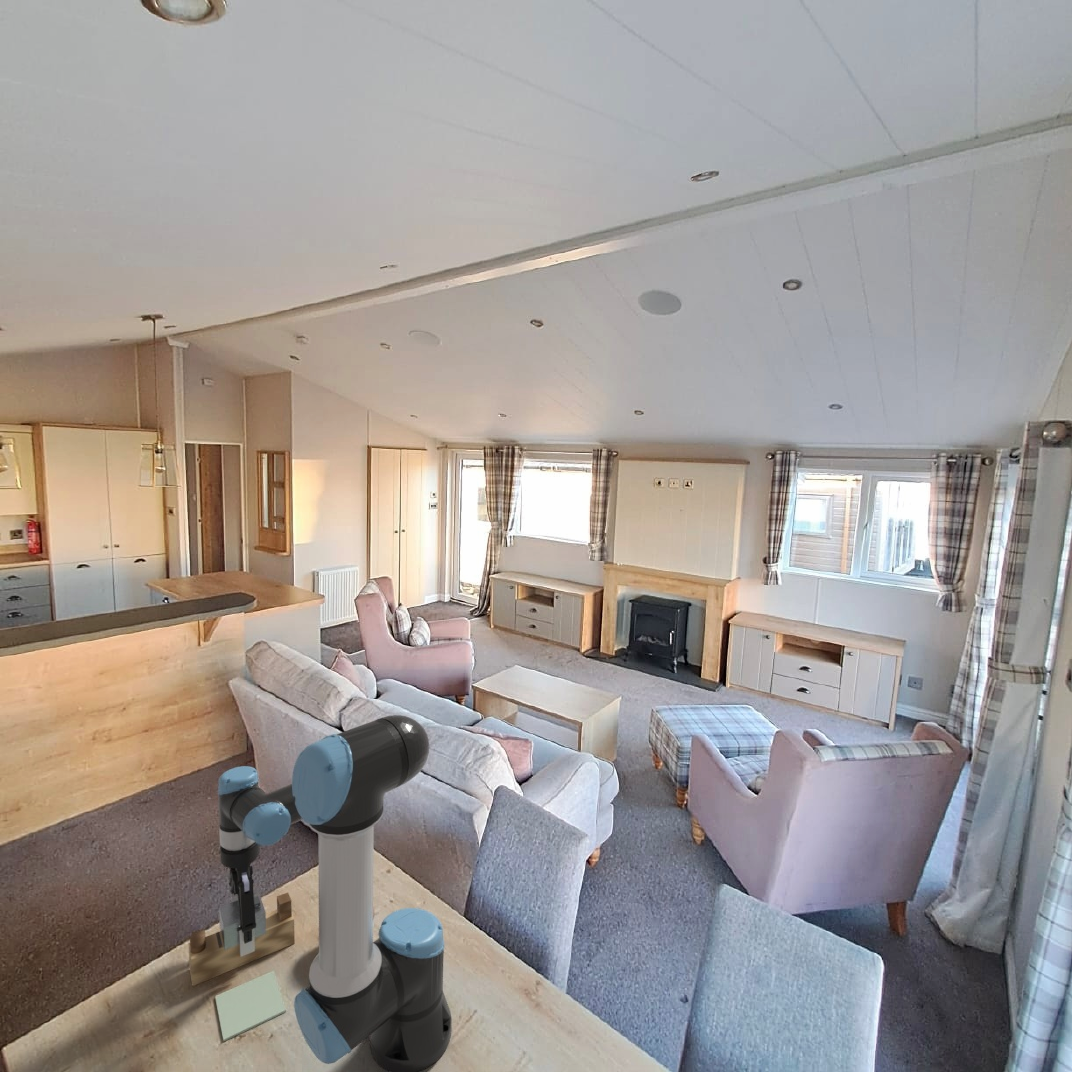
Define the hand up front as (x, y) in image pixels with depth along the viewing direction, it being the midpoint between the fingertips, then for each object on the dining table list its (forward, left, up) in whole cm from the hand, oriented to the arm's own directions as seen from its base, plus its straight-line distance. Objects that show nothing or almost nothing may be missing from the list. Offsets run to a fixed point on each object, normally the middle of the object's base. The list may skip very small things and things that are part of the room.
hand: (243, 936), depth 129 cm
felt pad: (-14, +1, -5) cm, 14 cm away
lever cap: (0, 0, +1) cm, 1 cm away
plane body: (0, 0, -5) cm, 5 cm away
